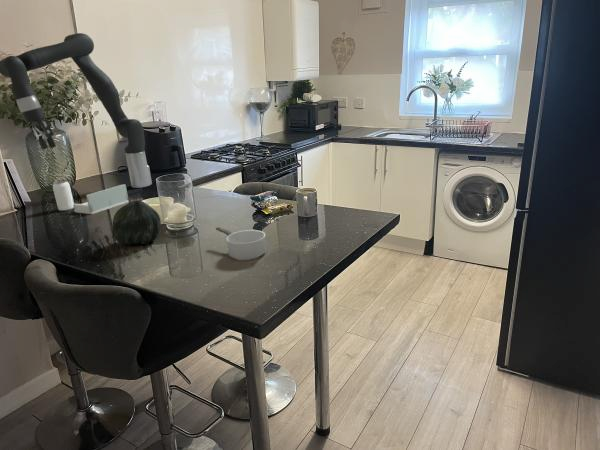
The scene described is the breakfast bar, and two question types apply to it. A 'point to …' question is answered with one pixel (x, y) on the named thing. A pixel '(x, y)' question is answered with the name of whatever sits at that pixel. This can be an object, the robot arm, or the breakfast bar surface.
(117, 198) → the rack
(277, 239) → the breakfast bar surface
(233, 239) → the saucepan
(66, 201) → the can
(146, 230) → the squash
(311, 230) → the breakfast bar surface
